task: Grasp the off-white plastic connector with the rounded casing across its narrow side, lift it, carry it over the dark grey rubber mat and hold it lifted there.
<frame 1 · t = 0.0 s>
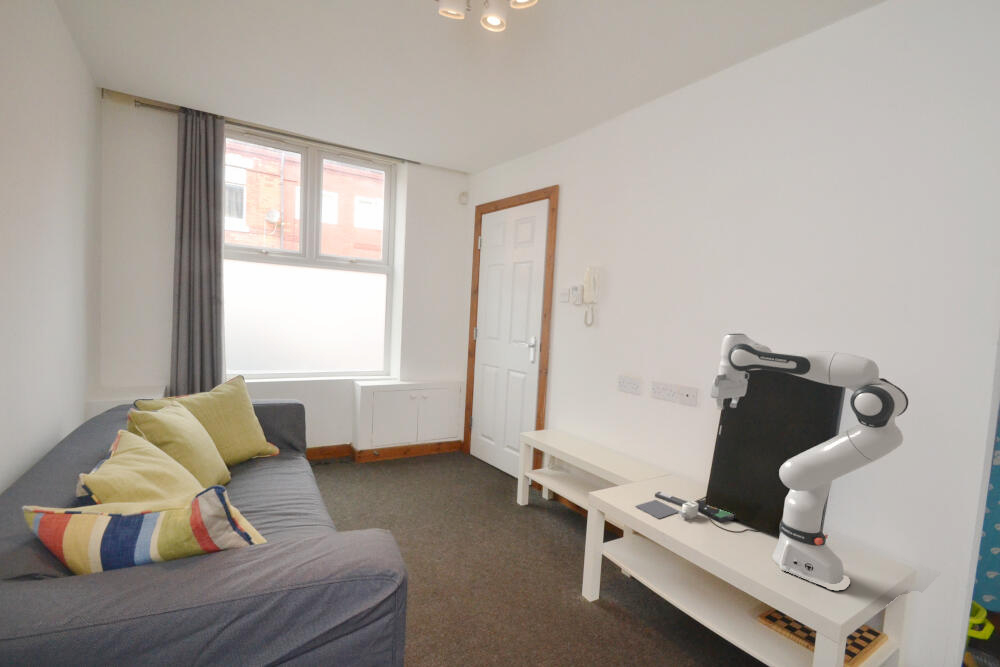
hand: (726, 408, 182), 48 cm above the tv stand, fingers open, 8 cm apart
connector: (689, 515, 193), on the tv stand
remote: (672, 502, 206), on the tv stand
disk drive: (711, 514, 197), on the tv stand
mat: (657, 509, 196), on the tv stand
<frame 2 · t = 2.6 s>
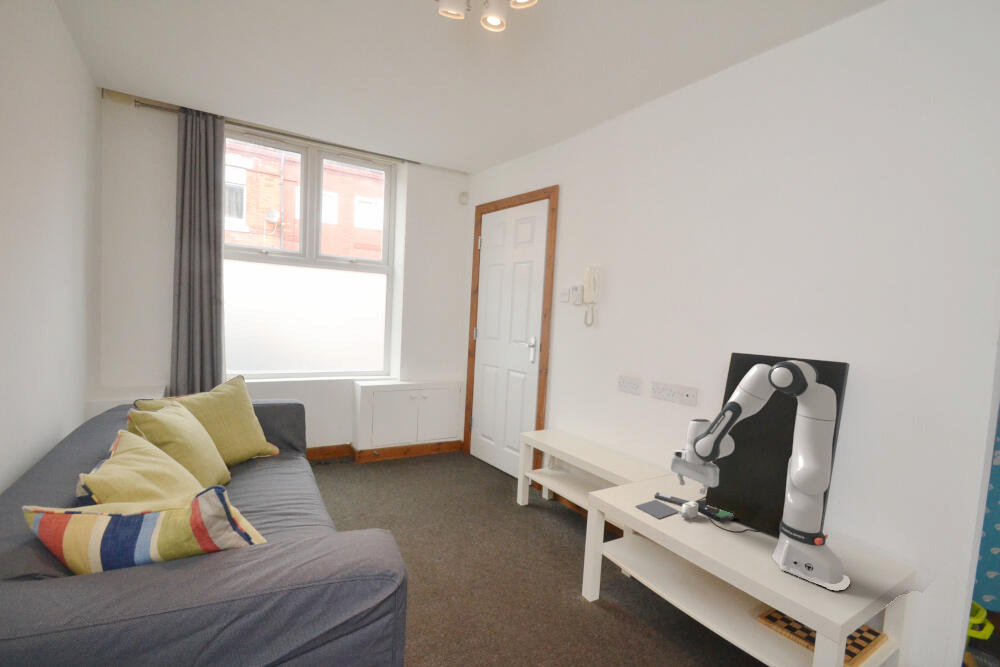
hand: (692, 489, 192), 11 cm above the tv stand, fingers open, 8 cm apart
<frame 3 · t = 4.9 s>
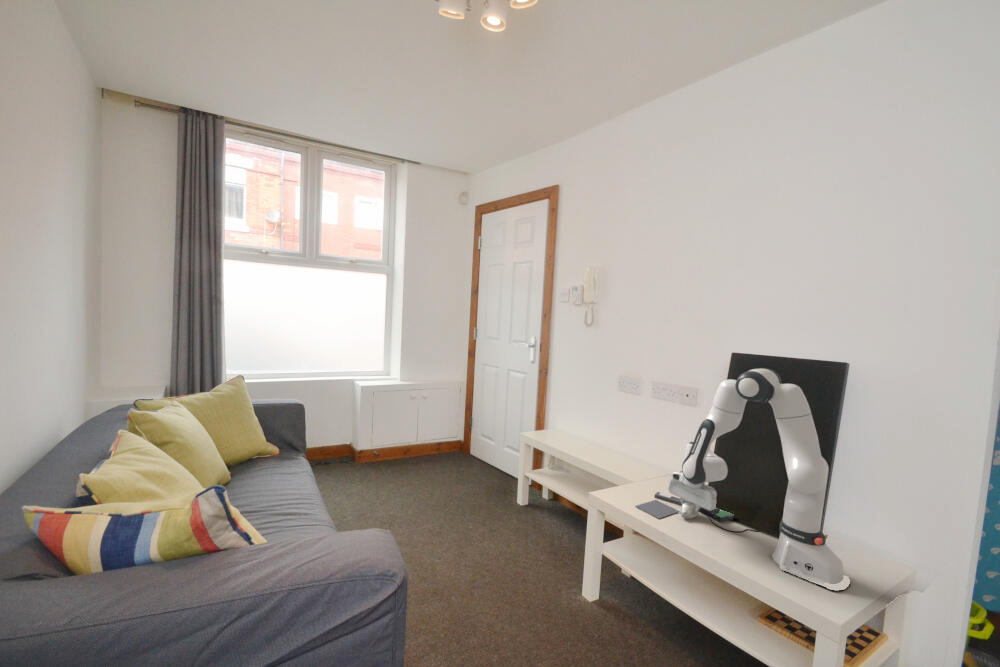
hand: (689, 511, 192), 2 cm above the tv stand, fingers closed on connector, 3 cm apart
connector: (689, 515, 193), on the tv stand, touching gripper
everything else where it was.
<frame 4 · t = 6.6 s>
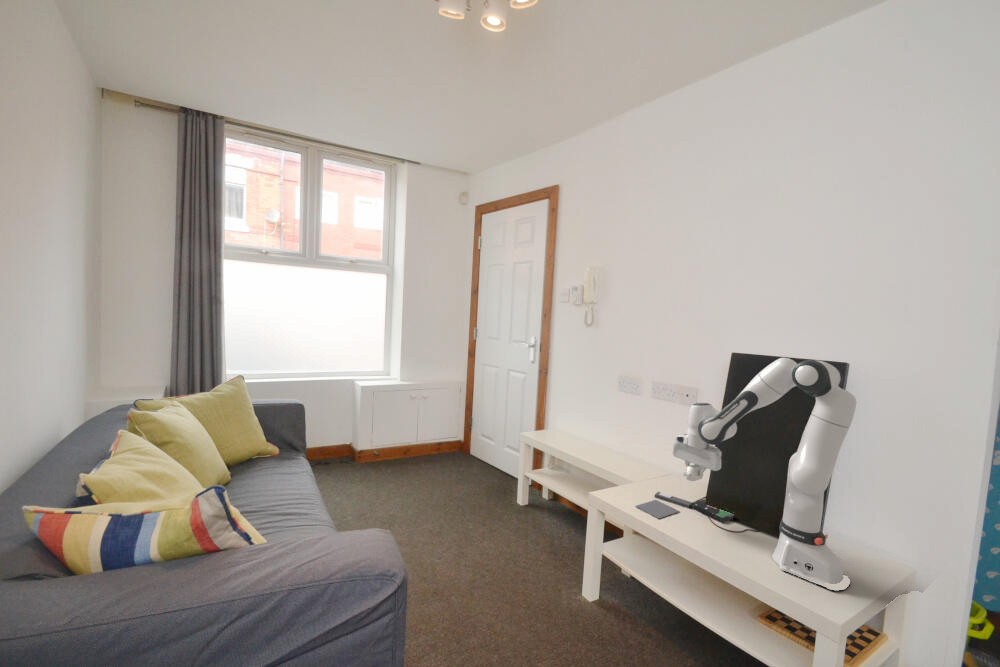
hand: (694, 474, 191), 18 cm above the tv stand, fingers closed on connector, 3 cm apart
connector: (694, 478, 191), point 16 cm above the tv stand, touching gripper
everything else where it was.
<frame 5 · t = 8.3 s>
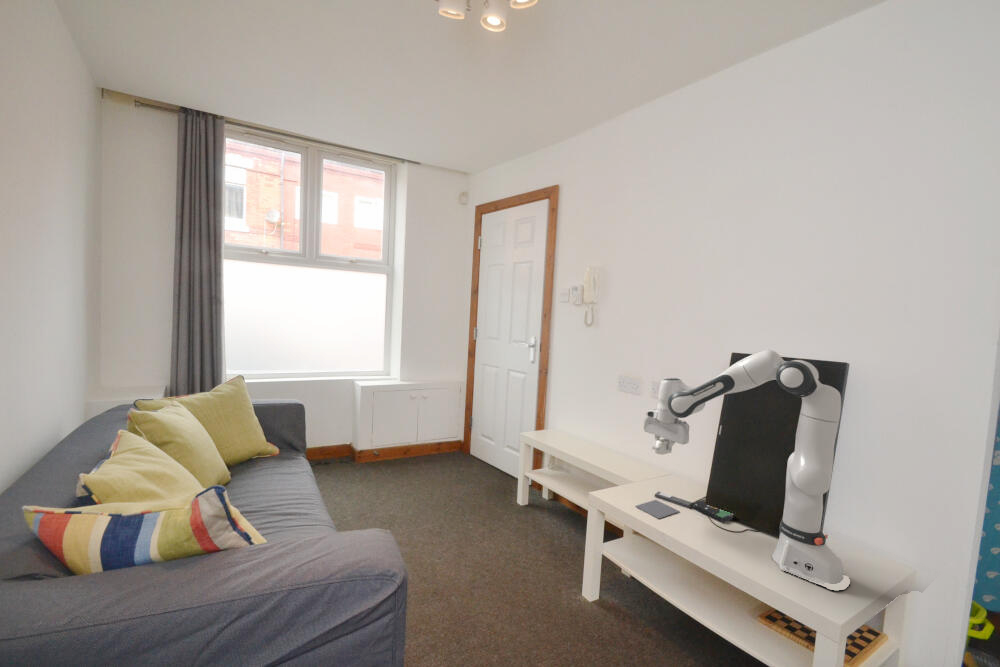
hand: (663, 448, 194), 27 cm above the tv stand, fingers closed on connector, 3 cm apart
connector: (663, 452, 194), point 25 cm above the tv stand, touching gripper
everything else where it was.
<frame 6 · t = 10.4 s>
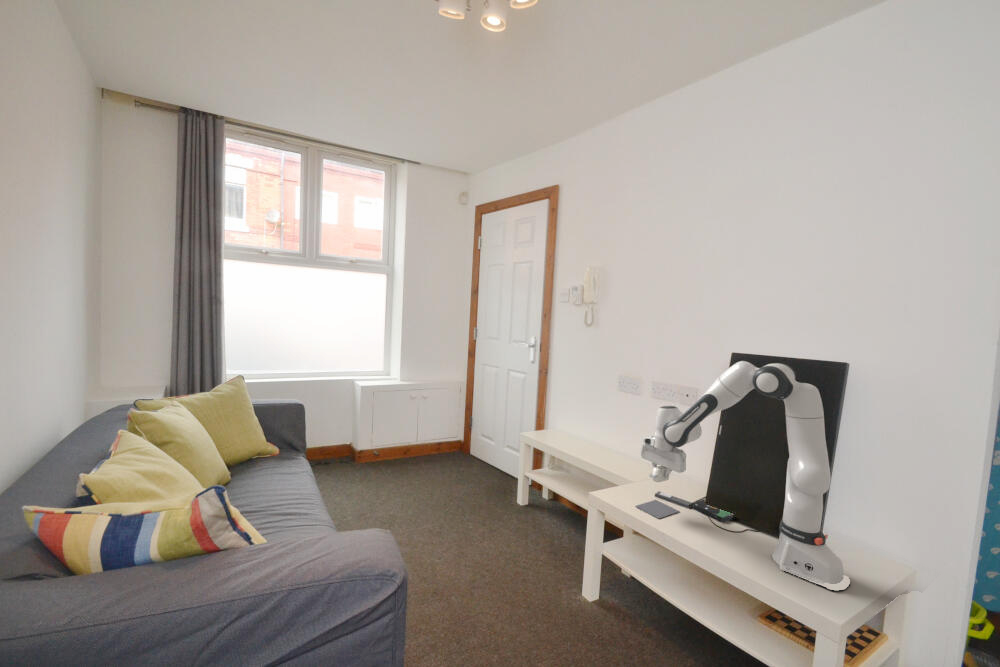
hand: (661, 475, 195), 15 cm above the tv stand, fingers closed on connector, 3 cm apart
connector: (660, 479, 195), point 13 cm above the tv stand, touching gripper
everything else where it was.
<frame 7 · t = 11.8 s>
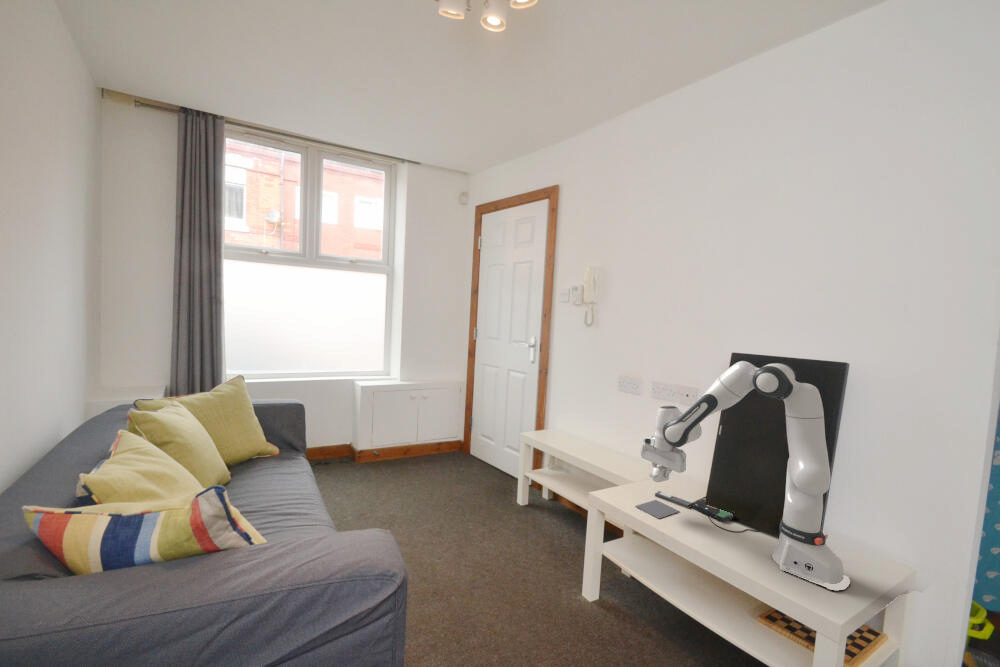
hand: (661, 475, 195), 15 cm above the tv stand, fingers closed on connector, 3 cm apart
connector: (660, 479, 195), point 13 cm above the tv stand, touching gripper
everything else where it was.
at the end: the gripper is holding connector; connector inside the target area (0.1 cm from its centre), point 13.3 cm above the tv stand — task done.
